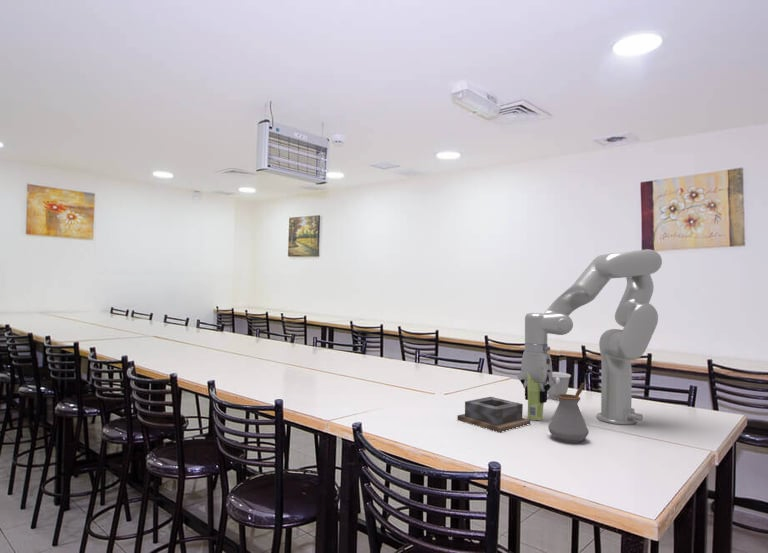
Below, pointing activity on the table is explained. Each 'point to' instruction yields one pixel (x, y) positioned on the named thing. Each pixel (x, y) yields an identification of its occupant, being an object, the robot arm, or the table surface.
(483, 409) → the socket board
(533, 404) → the tube
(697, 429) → the table surface
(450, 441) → the table surface
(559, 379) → the teacup
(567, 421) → the coffee pot
